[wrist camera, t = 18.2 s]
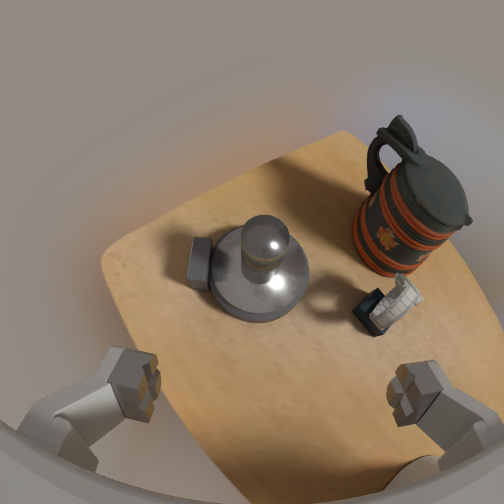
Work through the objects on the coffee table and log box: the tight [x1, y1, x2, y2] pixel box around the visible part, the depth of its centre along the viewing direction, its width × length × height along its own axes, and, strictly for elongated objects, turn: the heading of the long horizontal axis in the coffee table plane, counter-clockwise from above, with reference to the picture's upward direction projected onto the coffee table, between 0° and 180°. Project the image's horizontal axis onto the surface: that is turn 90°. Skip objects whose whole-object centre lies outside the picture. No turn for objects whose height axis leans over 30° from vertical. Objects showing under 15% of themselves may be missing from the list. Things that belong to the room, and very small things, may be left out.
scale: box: [187, 225, 309, 323], centre depth 38 cm, size 14×16×5 cm
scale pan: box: [212, 227, 306, 314], centre depth 37 cm, size 13×13×1 cm
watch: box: [352, 273, 424, 337], centre depth 33 cm, size 6×8×11 cm
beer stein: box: [353, 115, 473, 278], centre depth 35 cm, size 19×15×20 cm
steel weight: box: [241, 215, 290, 284], centre depth 32 cm, size 5×5×9 cm
